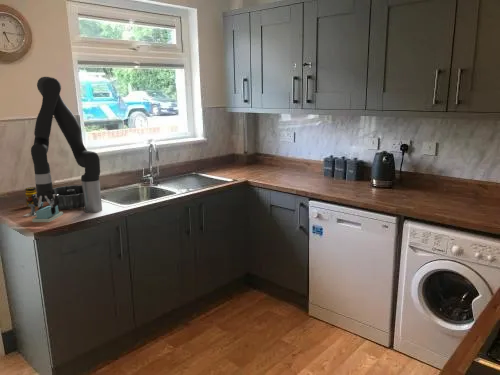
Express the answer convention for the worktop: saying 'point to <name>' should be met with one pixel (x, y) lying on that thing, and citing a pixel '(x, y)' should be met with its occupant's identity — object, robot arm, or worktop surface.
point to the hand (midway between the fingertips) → (47, 213)
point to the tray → (47, 219)
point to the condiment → (29, 193)
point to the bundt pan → (69, 197)
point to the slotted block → (46, 212)
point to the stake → (31, 211)
